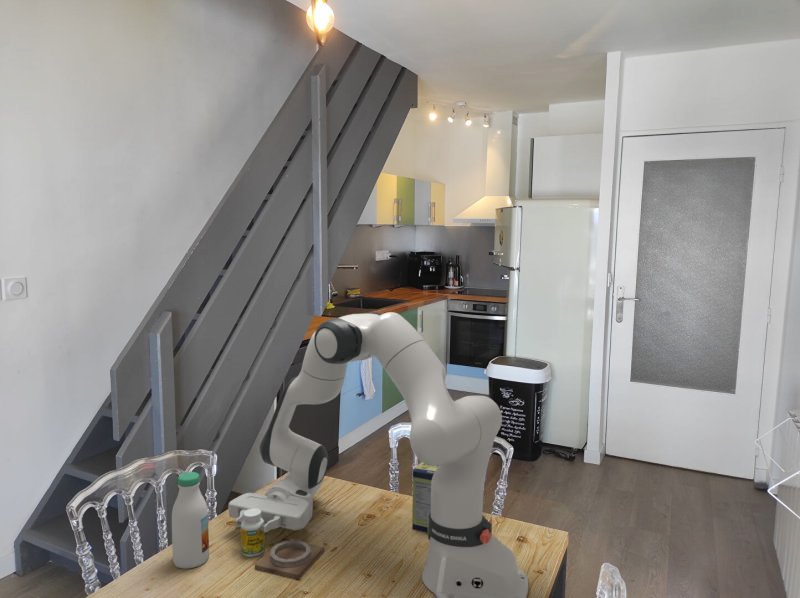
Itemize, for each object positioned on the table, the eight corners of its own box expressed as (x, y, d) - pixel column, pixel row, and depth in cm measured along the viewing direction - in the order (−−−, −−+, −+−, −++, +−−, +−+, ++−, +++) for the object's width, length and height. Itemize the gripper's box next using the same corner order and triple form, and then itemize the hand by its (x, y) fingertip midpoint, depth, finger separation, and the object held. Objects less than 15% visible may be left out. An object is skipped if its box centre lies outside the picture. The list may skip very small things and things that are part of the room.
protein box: (468, 510, 154) (469, 455, 152) (450, 538, 140) (452, 477, 138) (431, 503, 158) (432, 449, 156) (411, 529, 144) (411, 470, 142)
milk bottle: (194, 572, 124) (191, 485, 122) (165, 566, 127) (162, 479, 125) (216, 554, 132) (214, 471, 129) (188, 548, 134) (186, 466, 132)
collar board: (324, 550, 133) (324, 541, 133) (298, 579, 122) (298, 569, 122) (283, 542, 137) (283, 533, 137) (254, 569, 126) (254, 559, 126)
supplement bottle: (260, 542, 137) (259, 504, 136) (268, 553, 132) (267, 513, 131) (238, 549, 134) (237, 510, 133) (245, 560, 129) (244, 519, 128)
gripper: (247, 482, 148) (212, 505, 135) (317, 495, 141) (288, 520, 128) (247, 505, 148) (213, 531, 135) (317, 519, 141) (288, 547, 128)
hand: (250, 526), depth 131 cm, fingers closed on supplement bottle, 5 cm apart
